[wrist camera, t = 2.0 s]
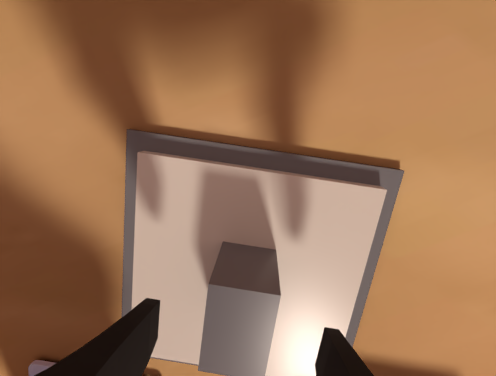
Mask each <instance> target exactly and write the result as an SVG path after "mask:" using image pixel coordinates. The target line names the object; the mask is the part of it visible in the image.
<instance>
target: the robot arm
mask: <svg viewBox="0 0 496 376" xmlns="http://www.w3.org/2000/svg"><path fill="white" fill-rule="evenodd" d="M159 313H160V300H157V299H151V298H146V299H144V300H143V301H142V302H141V303H139V304H138V305H137V306H136V307H134V308H133V309H132V310H131V311H129V312H128V313H127V314H126V315H125V316H123V317H122V318H121V319H119V320H118V321H117V322H116V323H114V324H113V325H112V326H110V327H109V328H108V329H106V330H105V331H104V332H102V333H101V334H100V335H98V336H97V337H95V338H94V339H93V340H91V341H90V342H88V343H87V344H85V345H84V346H83V347H81V348H80V349H78V350H77V351H75V352H74V353H72V354H70V355H69V356H67V357H66V358H64V359H62V360H61V361H59V362H58V363H54V362H48V361H42V360H34V361H33V362H32V363H31V364H30V365H29V367H28V371H29V376H142V374H143V372H144V370H145V368H146V366H147V364H148V362H149V359H150V357H151V354H152V352H153V349H154V347H155V344H156V342H157V339H158V328H159ZM315 371H316V376H374V375H373V374H372V373H371V371H370V370H369V369H368V368H367V366H366V365H365V364H364V362H363V361H362V360H361V359H360V357H359V356H358V354H357V353H356V352H355V350H354V349H353V348H352V346H351V345H350V344H349V342H348V341H347V340H346V338H345V337H344V336H343V334H342V333H341V332H340V330H339V329H334V328H328V327H325V328H324V331H323V335H322V339H321V343H320V347H319V351H318V355H317V358H316V362H315Z"/></svg>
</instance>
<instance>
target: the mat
mask: <svg viewBox="0 0 496 376" xmlns="http://www.w3.org/2000/svg"><path fill="white" fill-rule="evenodd" d="M141 151H150V152H157V153H163V154H170V155H177V156H183V157H190V158H197V159H203V160H210V161H217V162H223V163H230V164H236V165H243V166H250V167H256V168H263V169H270V170H276V171H283V172H290V173H296V174H303V175H309V176H316V177H323V178H329V179H336V180H343V181H349V182H356V183H363V184H369V185H376V186H381V187H383V188H385V189H387V192H386V196H385V199H384V203H383V206H382V210H381V213H380V217H379V221H378V224H377V228H376V231H375V235H374V238H373V242H372V245H371V249H370V252H369V256H368V259H367V263H366V266H365V270H364V273H363V277H362V281H361V284H360V288H359V291H358V295H357V298H356V302H355V305H354V309H353V312H352V316H351V319H350V323H349V326H348V330H347V333H346V337H345V338H346V340H347V341H348V342H349V344H350V345H351V346H352V347H353V343H354V340H355V337H356V333H357V330H358V326H359V323H360V320H361V316H362V313H363V309H364V306H365V303H366V299H367V296H368V292H369V289H370V286H371V282H372V279H373V275H374V272H375V269H376V265H377V262H378V258H379V255H380V252H381V248H382V245H383V241H384V238H385V235H386V231H387V228H388V224H389V221H390V218H391V214H392V211H393V208H394V204H395V201H396V197H397V194H398V191H399V187H400V184H401V180H402V177H403V174H404V171H403V170H400V169H393V168H387V167H380V166H373V165H366V164H360V163H353V162H346V161H340V160H333V159H326V158H319V157H313V156H306V155H299V154H293V153H286V152H279V151H273V150H266V149H259V148H252V147H246V146H239V145H232V144H226V143H219V142H212V141H206V140H199V139H192V138H185V137H179V136H172V135H165V134H159V133H152V132H145V131H139V130H132V129H127V144H126V180H125V216H124V252H123V288H122V317H123V316H125V315H126V314H127V313H128V312H129V311H131V309H132V283H133V257H134V231H135V205H136V179H137V153H138V152H141ZM150 358H155V357H150ZM155 359H161V358H155ZM161 360H167V359H161ZM167 361H173V360H167ZM173 362H179V361H173ZM179 363H185V362H179ZM185 364H191V363H185ZM191 365H197V364H191ZM197 366H199V365H197Z"/></svg>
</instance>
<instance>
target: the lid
mask: <svg viewBox="0 0 496 376" xmlns="http://www.w3.org/2000/svg"><path fill="white" fill-rule="evenodd" d="M386 192H387V189H385V188H383V187H381V186H376V185H369V184H363V183H356V182H349V181H343V180H336V179H329V178H323V177H316V176H309V175H303V174H296V173H290V172H283V171H276V170H270V169H263V168H256V167H250V166H243V165H236V164H230V163H223V162H217V161H210V160H203V159H197V158H190V157H183V156H177V155H170V154H163V153H157V152H150V151H141V152H138V153H137V179H136V205H135V231H134V257H133V283H132V309H133V308H134V307H136V306H137V305H138V304H139V303H141V302H142V301H143V300H144V299H146V298H151V299H157V300H160V313H159V328H158V339H157V342H156V344H155V347H154V349H153V352H152V354H151V357H155V358H161V359H167V360H173V361H179V362H185V363H191V364H197V365H199V366H198V371H203V372H209V373H215V374H221V375H227V376H316V371H315V362H316V358H317V355H318V351H319V347H320V343H321V339H322V335H323V331H324V328H325V327H328V328H334V329H339V330H340V332H341V333H342V334H343V336H344V337H346V333H347V330H348V326H349V323H350V319H351V316H352V312H353V309H354V305H355V302H356V298H357V295H358V291H359V288H360V284H361V281H362V277H363V273H364V270H365V266H366V263H367V259H368V256H369V252H370V249H371V245H372V242H373V238H374V235H375V231H376V228H377V224H378V221H379V217H380V213H381V210H382V206H383V203H384V199H385V196H386ZM132 309H131V310H132Z"/></svg>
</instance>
